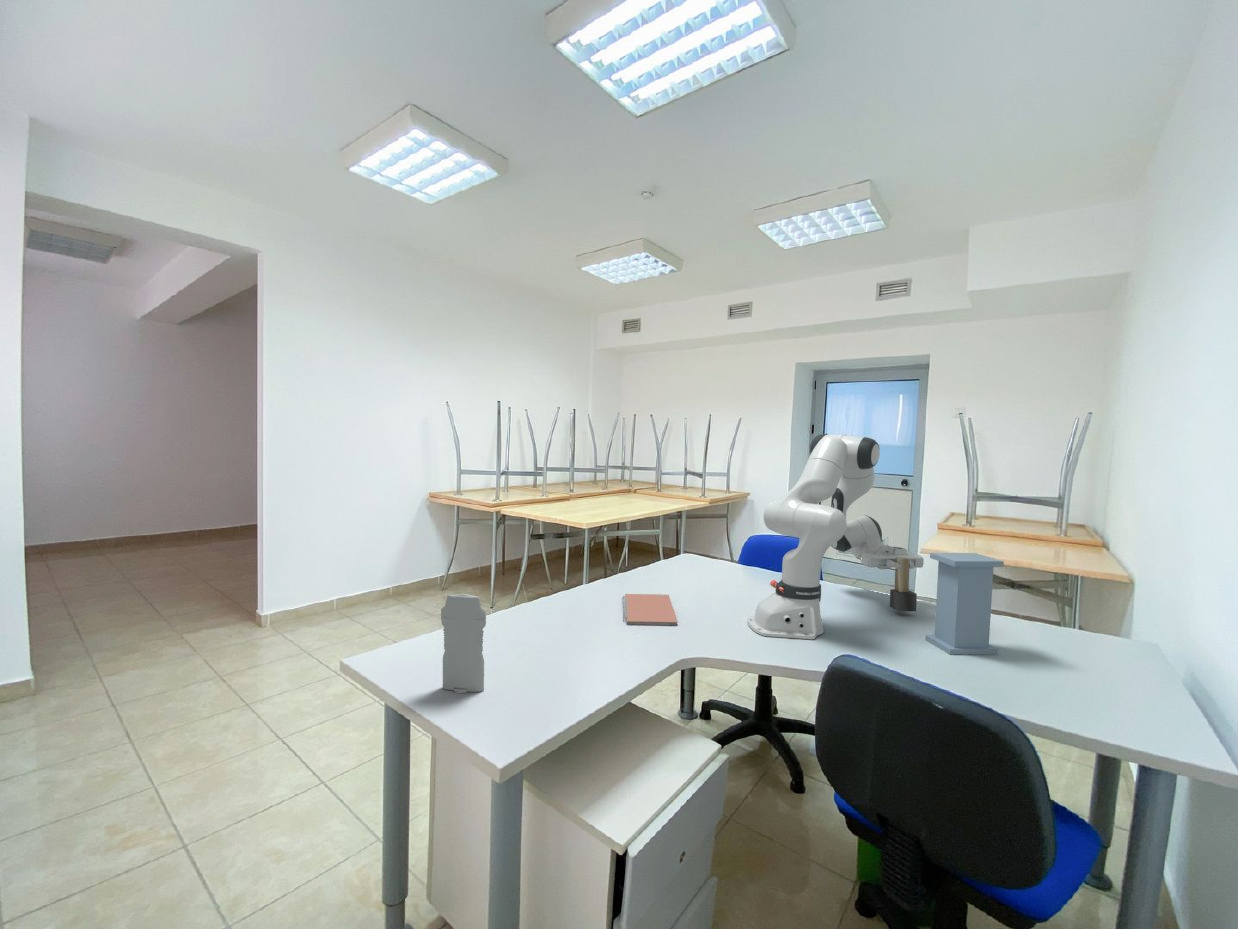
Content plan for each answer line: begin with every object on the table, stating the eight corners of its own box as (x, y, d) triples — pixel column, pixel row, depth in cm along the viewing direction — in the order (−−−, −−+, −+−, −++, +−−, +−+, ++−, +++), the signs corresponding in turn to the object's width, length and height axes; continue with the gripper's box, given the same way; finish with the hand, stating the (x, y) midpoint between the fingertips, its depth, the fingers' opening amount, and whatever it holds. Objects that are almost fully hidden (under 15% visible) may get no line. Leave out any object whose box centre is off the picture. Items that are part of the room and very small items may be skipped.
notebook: (622, 598, 182) (622, 593, 182) (668, 599, 183) (668, 593, 182) (623, 626, 155) (623, 620, 155) (677, 627, 155) (677, 621, 155)
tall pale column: (489, 686, 116) (489, 592, 114) (482, 695, 112) (482, 598, 110) (445, 682, 117) (445, 589, 116) (436, 691, 113) (436, 595, 112)
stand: (949, 654, 138) (955, 561, 137) (925, 640, 148) (930, 552, 147) (998, 654, 139) (1003, 561, 138) (970, 639, 149) (975, 553, 148)
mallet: (889, 606, 172) (898, 611, 167) (891, 557, 172) (900, 560, 167) (906, 606, 173) (916, 611, 168) (908, 557, 172) (917, 560, 167)
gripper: (854, 547, 182) (876, 556, 168) (908, 548, 183) (934, 557, 169) (853, 564, 182) (875, 575, 168) (907, 565, 183) (933, 575, 170)
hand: (905, 566), depth 169 cm, fingers closed on mallet, 3 cm apart
